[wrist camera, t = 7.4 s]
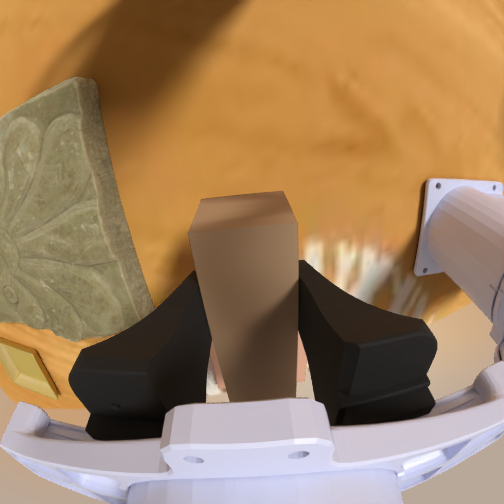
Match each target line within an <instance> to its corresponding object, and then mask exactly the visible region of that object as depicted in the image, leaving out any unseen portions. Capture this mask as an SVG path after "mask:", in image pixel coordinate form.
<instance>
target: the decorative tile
mask: <svg viewBox="0 0 504 504" xmlns="http://www.w3.org/2000/svg"><path fill="white" fill-rule="evenodd" d="M154 310H155V307H154V305H153V302H152V299H151V296H150V293H149V290H148V287H147V284H146V281H145V279H144V276H143V273H142V269H141V266H140V263H139V260H138V257H137V254H136V251H135V247H134V244H133V241H132V237H131V234H130V230H129V227H128V223H127V220H126V217H125V213H124V210H123V206H122V203H121V199H120V195H119V192H118V188H117V184H116V180H115V175H114V171H113V167H112V162H111V157H110V153H109V148H108V144H107V139H106V134H105V129H104V124H103V119H102V113H101V107H100V101H99V94H98V87H97V83H96V82H95V81H94V80H93V79H89V78H83V77H73V78H70V79H68V80H66V81H63V82H61V83H59V84H57V85H55V86H53V87H51V88H49V89H47V90H45V91H44V92H42V93H40V94H38V95H36V96H35V97H33V98H31V99H29V100H28V101H26V102H24V103H23V104H21V105H19V106H18V107H16V108H14V109H13V110H11V111H10V112H8V113H6V114H5V115H3V116H2V117H1V118H0V323H2V322H18V323H24V324H26V325H28V326H29V327H32V328H35V329H50V330H52V331H53V332H54V334H55V335H57V336H60V337H63V338H65V339H68V340H70V341H73V342H78V341H80V340H82V339H83V338H92V337H106V336H109V335H112V334H116V333H118V332H119V331H121V330H124V329H128V328H129V327H131V326H133V325H134V324H136V323H137V322H139V321H140V320H142V319H143V318H145V317H146V316H147V315H149V314H150V313H151V312H152V311H154Z"/></svg>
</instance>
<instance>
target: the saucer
mask: <svg viewBox="0 0 504 504" xmlns="http://www.w3.org/2000/svg"><path fill="white" fill-rule="evenodd" d="M0 362H1V363H2V365H3V367H4V368H5V370H6V372H7V373H8V375H9V377H10V378H11V380H12V381H13V382H14V383H16V384H17V385H20V386H22V387H24V388H27V389H29V390H32V391H34V392H37V393H40V394H42V395H45V396H47V397H50V398H53V399H56V400H57V399H58V395H57V391H56V387H55V385H54V382H53V381H52V379H51V377H50V375H49V374H48V372H47V370H46V368H45V366H44V364H43V362H42V361H41V359H40V357H39V355H38V353H37V351H36V350H35V349H34V348H31V347H27V346H24V345H21V344H18V343H16V342H13V341H10V340H7V339H5V338H1V337H0Z"/></svg>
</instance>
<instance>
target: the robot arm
mask: <svg viewBox="0 0 504 504" xmlns="http://www.w3.org/2000/svg"><path fill="white" fill-rule="evenodd" d="M437 183H438V187H437V188H436V184H437ZM502 193H503V184H502V183H501V182H498V181H485V180H468V179H446V178H430V179H428V180H427V182H426V188H425V199H424V208H423V217H422V224H421V231H420V238H419V244H418V250H417V256H416V261H415V266H414V273H415V275H416V276H424V275H429V274H435V273H441V272H445V273H446V274H447V275H448V276H449V277H450V278H451V279H452V280H453V281H454V282H455V283H456V284H457V285H458V286H459V287H460V288H461V289H462V290H463V291H464V292H465V293H466V295H467V296H468V297H469V298H470V299H471V300H472V301H473V302H474V303H475V304H476V305H477V306H478V307H479V309H480V310H482V312H483V313H484V314H485V315H486V316H487V317H488V319H489V320H490V321H491V322H492V323H493V327H492V330H491V332H490V336H491V337H492V338H493V340H494V341H495V342H496V343H497V347H496V349H495V353H494V364H493V365H491V366H489V367H487V368H485V369H484V370H482V371H481V372H480V373H479V375H478V376H477V378H476V379H475V381H474V383H473V385H471V386H468V387H466V388H464V389H462V390H459V391H457V392H455V393H452V394H450V395H448V396H445V397H443V398H440V399H437V400H434V398H433V396H432V395H431V393H430V390H429V389H428V386H429V385H430V380H429V378H428V377H427V375H426V374H427V372H428V370H429V368H430V366H431V364H432V361H433V359H434V357H435V354H436V351H437V340H436V338H435V336H434V335H433V333H432V332H431V330H430V329H429V328H428V326H427V325H426V324H425V322H424V321H423V320H422V319H417V318H412V317H407V316H402V315H398V314H395V313H392V312H388V311H385V310H382V309H380V308H377V307H375V306H372V305H370V304H367V303H365V302H363V301H361V300H359V299H357V298H355V297H353V296H352V295H350V294H348V293H346V292H345V291H343V290H342V289H340V288H339V287H337V286H336V285H334V284H333V283H331V282H330V281H329V280H327V279H326V278H325V277H324V276H322V275H321V274H320V273H319V272H318V271H316V270H315V269H314V268H313V267H312V266H311V265H309V264H308V263H307V262H306V261H305V260H298V261H299V306H298V332H299V335H300V338H301V341H302V344H303V347H304V350H305V353H306V357H307V360H308V364H309V369H310V374H311V379H312V385H313V391H314V397H315V401H314V400H312V399H309V398H293V397H287V398H278V399H268V400H257V401H242V402H221V403H206V382H207V368H208V361H209V355H210V349H211V343H212V336H211V332H210V328H209V324H208V320H207V316H206V312H205V308H204V304H203V299H202V295H201V291H200V287H199V282H198V278H197V273H196V270H194V271H193V272H192V273H191V274H190V275H189V276H188V277H187V278H186V279H185V280H184V281H183V282H182V284H181V285H180V286H179V287H178V288H177V289H176V290H175V291H174V292H173V293H172V294H171V295H170V296H169V297H168V298H167V299H166V300H165V301H164V302H163V303H162V304H161V305H160V306H158V307H157V308H156V309H155V310H154V311H152V312H151V313H150V314H149V315H147V316H146V317H145V318H143V319H142V320H140V321H139V322H137V323H136V324H134V325H133V326H131V327H129V328H128V329H126V330H124V331H123V332H121V333H119V334H117V335H115V336H113V337H111V338H109V339H107V340H105V341H102V342H100V343H97V344H95V345H92V346H89V347H87V348H84V349H82V350H81V352H80V354H79V356H78V358H77V360H76V362H75V364H74V366H73V368H72V370H71V372H70V374H69V378H68V380H69V384H70V387H71V388H72V390H73V392H74V393H75V395H76V396H77V397H78V398H79V400H80V401H81V402H82V403H83V405H84V406H85V407H86V408H87V410H88V411H89V412H90V413H91V415H90V417H89V420H88V423H87V426H86V428H85V427H80V426H76V425H72V424H68V423H63V422H60V421H56V420H52V419H50V417H49V416H48V414H47V413H45V411H44V410H43V409H41V408H40V407H38V406H36V405H33V404H29V403H26V402H23V401H19V403H18V405H17V407H16V409H15V411H14V413H13V415H12V417H11V419H10V422H9V424H8V426H7V428H6V431H5V433H4V435H3V437H2V440H1V442H0V447H1V448H2V449H4V450H5V451H6V452H7V453H8V454H10V455H11V456H12V457H13V458H15V459H16V460H17V461H19V462H20V463H21V464H22V465H24V466H25V467H27V468H28V469H29V470H30V471H32V472H33V473H35V474H36V475H38V476H40V477H42V478H45V479H47V480H49V481H51V482H54V483H56V484H59V485H61V486H63V487H66V488H68V489H70V490H73V491H76V492H78V493H81V494H83V495H86V496H89V497H92V498H95V499H97V500H100V501H103V502H106V503H109V504H404V503H403V499H402V496H401V492H402V491H404V490H406V489H409V488H411V487H413V486H416V485H418V484H420V483H422V482H424V481H426V480H428V479H430V478H433V477H434V476H436V475H438V474H440V473H442V472H444V471H446V470H448V469H450V468H451V467H453V466H455V465H457V464H459V463H460V462H462V461H464V460H465V459H467V458H469V457H470V456H472V455H474V454H475V453H477V452H478V451H480V450H482V449H483V448H485V447H486V446H488V445H490V444H491V443H493V442H494V441H496V440H497V439H499V438H500V437H501V436H502V435H503V434H504V195H502ZM424 268H425V269H424ZM423 269H424V270H423Z"/></svg>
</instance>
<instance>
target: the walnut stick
mask: <svg viewBox="0 0 504 504" xmlns="http://www.w3.org/2000/svg"><path fill="white" fill-rule="evenodd" d="M188 236H189V241H190V245H191V250H192V255H193V260H194V264H195V269H196V273H197V278H198V282H199V287H200V291H201V295H202V299H203V304H204V308H205V312H206V316H207V320H208V324H209V328H210V332H211V336H212V340H213V343H214V347H215V351H216V355H217V358H218V362H219V366H220V369H221V373H222V376H223V380H224V383H225V387H226V390H227V394H228V397H229V400H230V402H242V401H257V400H268V399H278V398H287V397H293V398H296V383H297V356H298V306H299V261H298V222H297V220H296V218H295V215H294V213H293V211H292V209H291V207H290V205H289V203H288V200H287V198H286V196H285V194H284V192H283V191H275V192H264V193H253V194H242V195H233V196H223V197H215V198H206V199H201V201H200V204H199V206H198V209H197V211H196V214H195V217H194V219H193V222H192V224H191V227H190V230H189V232H188Z"/></svg>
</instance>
